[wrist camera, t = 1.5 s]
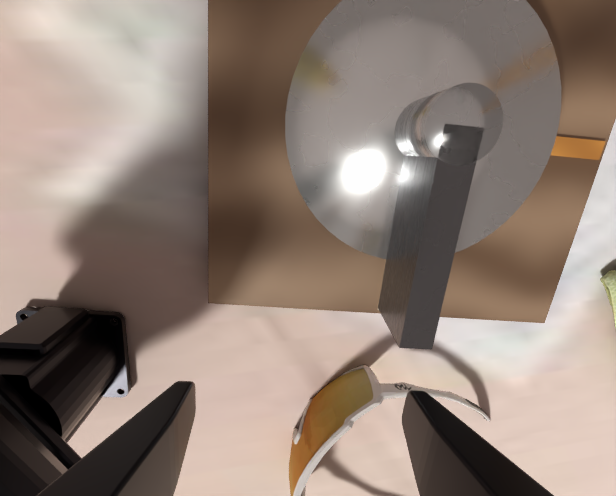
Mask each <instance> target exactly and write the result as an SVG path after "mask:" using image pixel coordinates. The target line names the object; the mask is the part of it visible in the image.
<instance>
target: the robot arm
mask: <svg viewBox="0 0 616 496" xmlns="http://www.w3.org/2000/svg"><path fill="white" fill-rule="evenodd" d="M25 314H26V315H27V316H28V317H27V316H26V315H25ZM113 319H116V320H117V321H118V322H115V321H114V320H113ZM16 320H17V325H16V326H14V327H13V328H11V329H10V330H8V331H6V332H5V333H3V334H2V335H0V496H173V494H174V491H175V488H176V485H177V482H178V478H179V475H180V471H181V467H182V463H183V459H184V456H185V452H186V448H187V444H188V440H189V437H190V433H191V429H192V425H193V421H194V417H195V409H196V404H195V384H194V383H193V382H191V381H178V382H176V383H174V384H173V385H172V386H171V387H169V388H168V389H167V390H166V391H164V392H163V393H162V394H161V395H159V396H158V397H157V398H156V399H155V400H153V401H152V402H151V403H150V404H148V405H147V406H146V407H145V408H143V409H142V410H141V411H140V412H138V413H137V414H136V415H135V416H134V417H132V418H131V419H130V420H129V421H127V422H126V423H125V424H124V425H122V426H121V427H120V428H119V429H118V430H116V431H115V432H114V433H113V434H111V435H110V436H109V437H108V438H106V439H105V440H104V441H103V442H102V443H100V444H99V445H98V446H97V447H95V448H94V449H93V450H92V451H90V452H89V453H88V454H87V455H86V456H84V457H83V458H81V457H80V456H79V455H78V454H77V453H76V452H75V451H74V450H73V449H72V448H71V447H70V446H69V445H68V444H67V442H68V441H69V440H70V439H71V437H72V436H73V435H74V433H75V432H76V431H77V429H78V428H79V427H80V425H81V424H82V423H83V421H84V420H85V419H86V418H87V416H88V415H89V414H90V412H91V411H92V410H93V408H94V407H95V406H96V404H97V403H98V402H99V400H100V399H101V398H102V397H125V396H127V394H128V393H129V391H130V390H131V384H130V372H129V361H128V349H127V337H126V326H125V318H124V316H123V315H122V314H121V313H118V312H104V311H88V310H86V309H81V308H63V307H44V308H33V307H26V308H23V309H22V310H20V311H18V312H17V313H16ZM121 389H123V390H121ZM402 425H403V429H404V434H405V438H406V442H407V446H408V450H409V454H410V459H411V463H412V467H413V471H414V475H415V479H416V483H417V487H418V491H419V494H420V496H554V495H552V494H551V493H550V492H549V491H547V490H546V489H545V488H544V487H542V486H541V485H540V484H539V483H538V482H536V481H535V480H534V479H533V478H531V477H530V476H529V475H528V474H526V473H525V472H524V471H523V470H522V469H520V468H519V467H518V466H517V465H515V464H514V463H513V462H512V461H510V460H509V459H508V458H507V457H505V456H504V455H503V454H502V453H501V452H499V451H498V450H497V449H496V448H494V447H493V446H492V445H491V444H489V443H488V442H487V441H486V440H485V439H483V438H482V437H481V436H480V435H478V434H477V433H476V432H475V431H473V430H472V429H471V428H470V427H468V426H467V425H466V424H465V423H464V422H462V421H461V420H460V419H459V418H457V417H456V416H455V415H454V414H452V413H451V412H450V411H449V410H448V409H446V408H445V407H444V406H443V405H441V404H440V403H439V402H438V401H436V400H435V399H434V398H433V397H431V396H430V395H429V394H428V393H426V392H425V391H417V390H410V391H409V392H408V393H407V396H406V400H405V405H404V409H403V414H402Z"/></svg>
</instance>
